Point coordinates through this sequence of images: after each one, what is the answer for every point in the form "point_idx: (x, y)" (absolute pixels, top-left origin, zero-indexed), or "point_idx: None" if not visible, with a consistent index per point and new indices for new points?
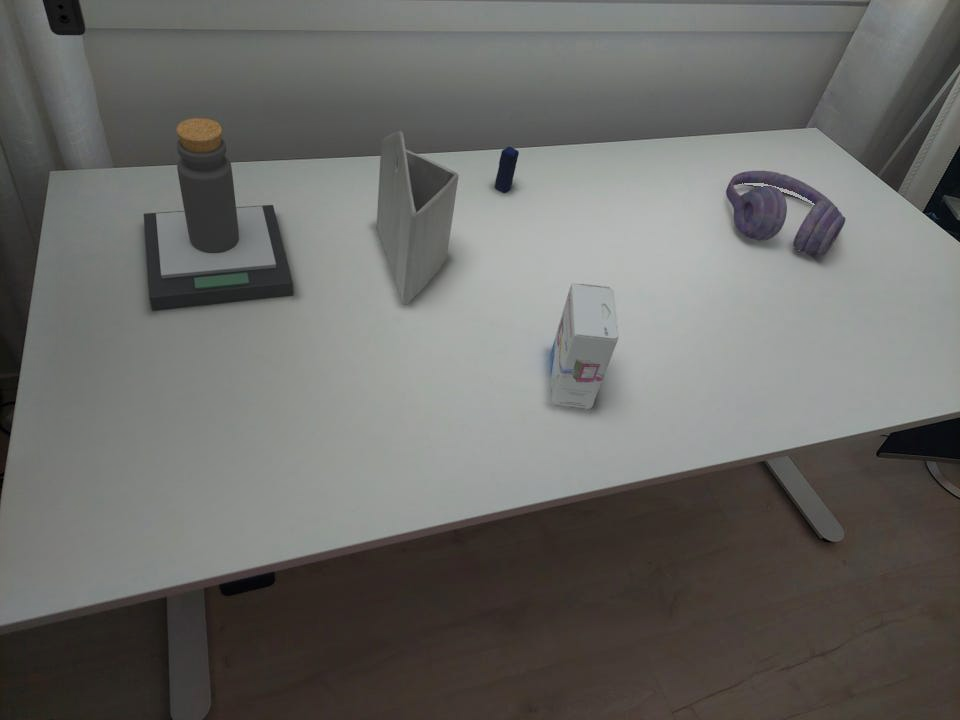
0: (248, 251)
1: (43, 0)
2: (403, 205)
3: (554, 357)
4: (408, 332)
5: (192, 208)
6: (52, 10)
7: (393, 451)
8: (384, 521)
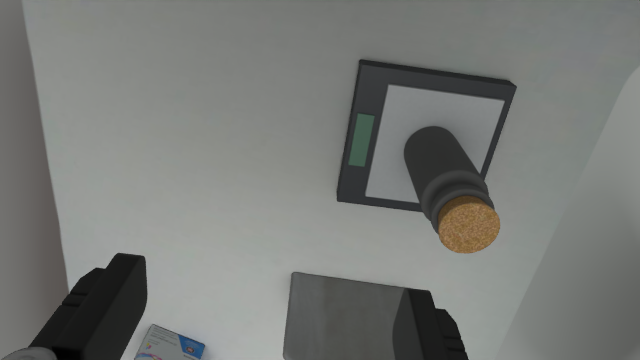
0: (395, 177)
1: (84, 304)
2: (317, 350)
3: (180, 350)
4: (258, 263)
5: (426, 156)
6: (65, 304)
7: (128, 208)
8: (61, 180)
